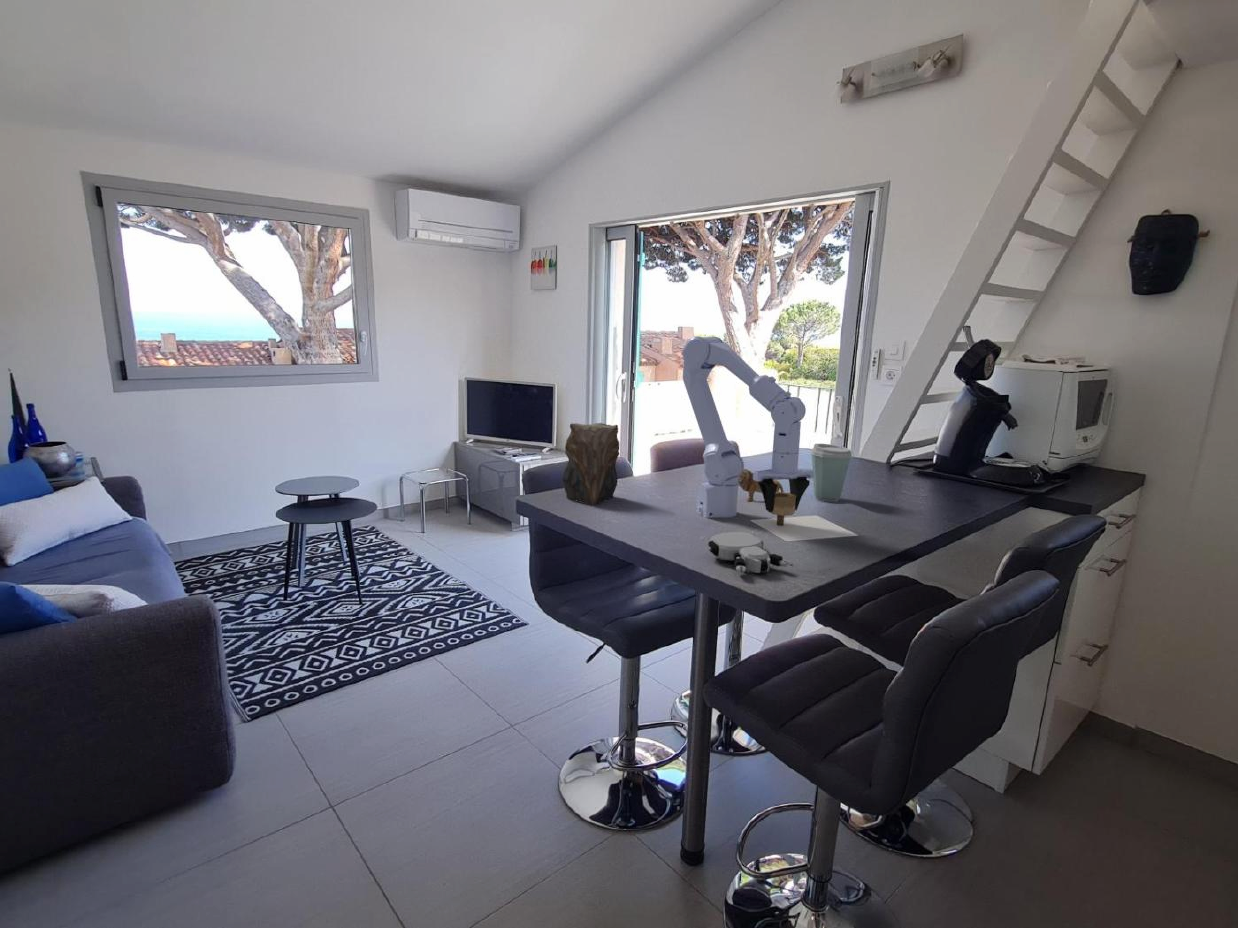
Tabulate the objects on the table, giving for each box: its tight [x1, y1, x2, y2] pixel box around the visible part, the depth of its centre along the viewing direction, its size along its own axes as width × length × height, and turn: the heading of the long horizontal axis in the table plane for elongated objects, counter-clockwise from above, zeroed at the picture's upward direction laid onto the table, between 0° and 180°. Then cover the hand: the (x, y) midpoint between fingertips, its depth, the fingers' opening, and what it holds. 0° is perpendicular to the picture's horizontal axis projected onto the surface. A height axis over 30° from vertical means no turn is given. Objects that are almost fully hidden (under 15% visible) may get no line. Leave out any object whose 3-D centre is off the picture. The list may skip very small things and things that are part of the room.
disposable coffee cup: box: [810, 443, 852, 503], centre depth 174 cm, size 11×11×15 cm
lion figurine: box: [738, 468, 785, 503], centre depth 169 cm, size 15×5×9 cm, turn 72°
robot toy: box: [700, 531, 790, 574], centre depth 124 cm, size 12×4×15 cm
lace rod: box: [776, 515, 785, 526], centre depth 146 cm, size 2×2×6 cm
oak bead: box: [767, 491, 796, 517], centre depth 145 cm, size 6×6×4 cm
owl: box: [561, 422, 620, 506], centre depth 170 cm, size 13×13×20 cm
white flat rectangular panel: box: [750, 514, 859, 542], centre depth 145 cm, size 18×16×1 cm
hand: (781, 510), depth 146 cm, fingers closed on oak bead, 6 cm apart
